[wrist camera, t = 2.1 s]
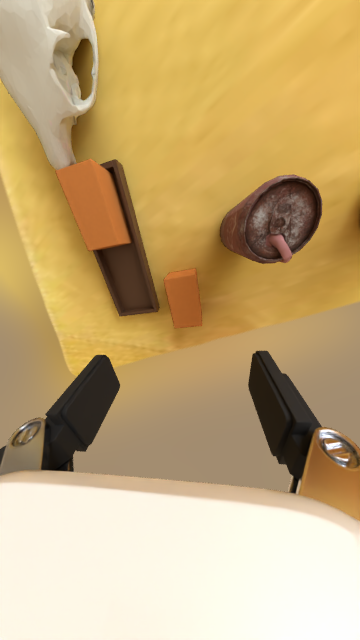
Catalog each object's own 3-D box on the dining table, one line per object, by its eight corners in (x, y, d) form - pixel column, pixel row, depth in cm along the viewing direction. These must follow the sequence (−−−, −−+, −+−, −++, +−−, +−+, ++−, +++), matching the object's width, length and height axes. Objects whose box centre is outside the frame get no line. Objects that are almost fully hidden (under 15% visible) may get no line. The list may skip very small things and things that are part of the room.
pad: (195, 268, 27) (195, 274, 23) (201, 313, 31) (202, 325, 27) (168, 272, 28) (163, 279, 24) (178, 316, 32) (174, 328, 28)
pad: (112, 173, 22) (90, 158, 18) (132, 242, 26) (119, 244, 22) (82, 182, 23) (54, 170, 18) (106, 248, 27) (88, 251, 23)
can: (232, 260, 26) (262, 282, 14) (212, 225, 24) (225, 216, 12) (268, 235, 24) (340, 234, 12) (249, 194, 22) (312, 142, 10)
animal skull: (31, 162, 23) (-87, 74, 13) (57, 9, 18) (-89, -289, 9) (96, 195, 23) (29, 134, 13) (134, 54, 19) (77, -180, 9)
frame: (122, 165, 22) (115, 159, 20) (159, 307, 32) (157, 311, 30) (72, 180, 23) (62, 176, 22) (123, 312, 33) (119, 316, 32)
